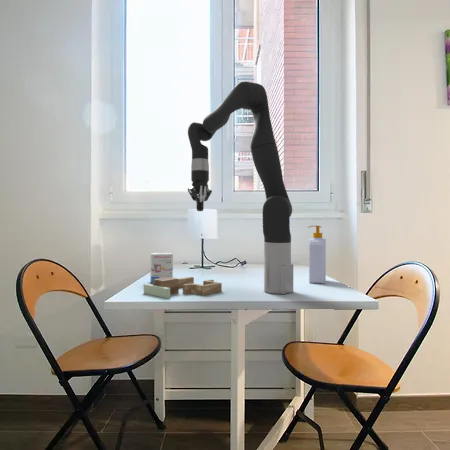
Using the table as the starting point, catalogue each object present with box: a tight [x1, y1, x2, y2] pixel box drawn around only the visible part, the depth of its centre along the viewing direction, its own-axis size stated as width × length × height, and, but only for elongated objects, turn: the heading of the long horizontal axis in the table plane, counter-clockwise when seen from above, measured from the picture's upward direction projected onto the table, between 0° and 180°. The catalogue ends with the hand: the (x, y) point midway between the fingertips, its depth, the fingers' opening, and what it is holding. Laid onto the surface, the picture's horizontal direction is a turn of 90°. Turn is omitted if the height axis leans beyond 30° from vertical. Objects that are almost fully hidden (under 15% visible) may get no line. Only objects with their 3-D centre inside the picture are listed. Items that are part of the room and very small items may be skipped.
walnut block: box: [152, 277, 180, 295], centre depth 120 cm, size 5×7×5 cm
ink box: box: [150, 252, 174, 284], centre depth 142 cm, size 9×5×12 cm, turn 105°
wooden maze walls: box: [178, 276, 223, 296], centre depth 125 cm, size 18×14×3 cm
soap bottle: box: [307, 225, 327, 285], centre depth 143 cm, size 9×7×23 cm
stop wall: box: [143, 283, 171, 299], centre depth 116 cm, size 12×2×3 cm, turn 49°
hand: (200, 211), depth 150 cm, fingers closed
